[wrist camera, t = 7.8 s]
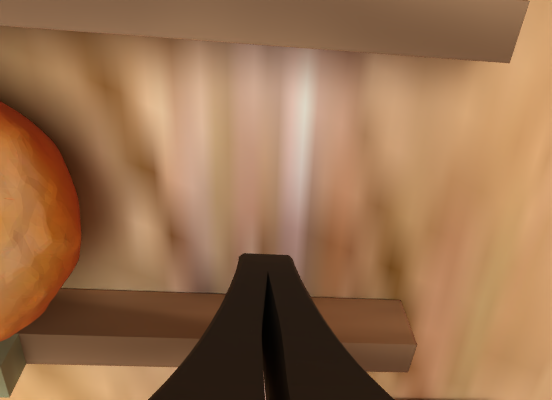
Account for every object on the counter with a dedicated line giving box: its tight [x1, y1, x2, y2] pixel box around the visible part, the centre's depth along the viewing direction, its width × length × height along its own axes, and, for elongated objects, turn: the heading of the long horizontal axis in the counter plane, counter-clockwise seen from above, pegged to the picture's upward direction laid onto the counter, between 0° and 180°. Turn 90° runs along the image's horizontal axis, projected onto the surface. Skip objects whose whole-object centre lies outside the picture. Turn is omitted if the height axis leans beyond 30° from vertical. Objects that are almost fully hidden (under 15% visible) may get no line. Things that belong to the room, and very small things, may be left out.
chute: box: [0, 0, 530, 397], centre depth 16 cm, size 14×23×4 cm, turn 85°
